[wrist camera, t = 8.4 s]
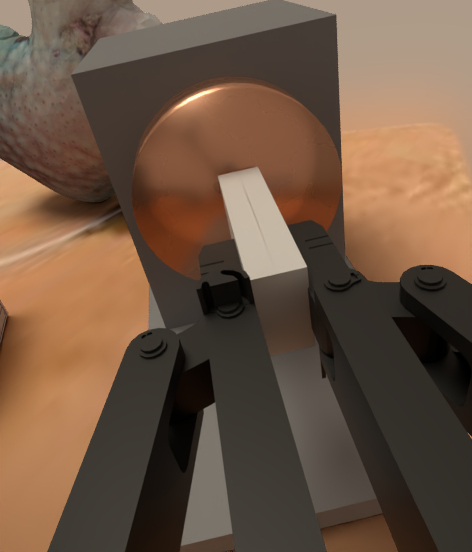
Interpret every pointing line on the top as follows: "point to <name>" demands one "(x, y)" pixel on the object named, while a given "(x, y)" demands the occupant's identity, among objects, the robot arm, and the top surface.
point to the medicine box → (2, 319)
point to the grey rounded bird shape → (57, 93)
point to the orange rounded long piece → (228, 164)
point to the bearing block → (182, 290)
